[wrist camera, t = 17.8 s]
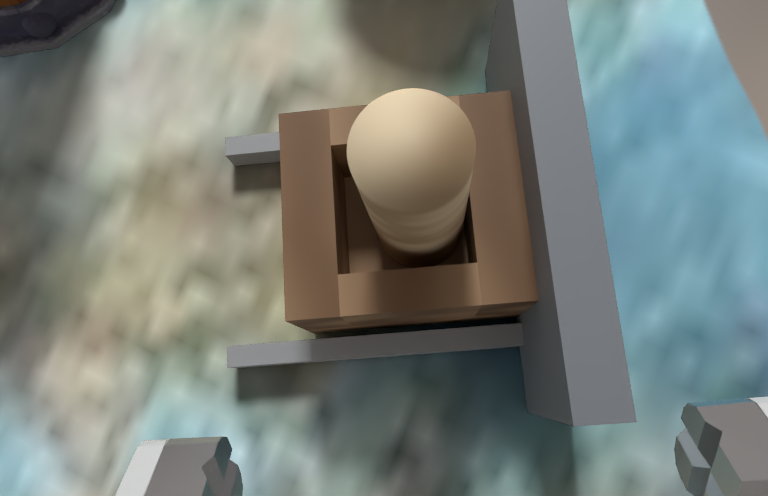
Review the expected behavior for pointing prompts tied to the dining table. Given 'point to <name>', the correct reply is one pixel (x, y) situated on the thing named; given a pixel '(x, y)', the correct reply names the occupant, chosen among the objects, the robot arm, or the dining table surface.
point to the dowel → (414, 172)
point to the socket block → (363, 247)
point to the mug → (45, 22)
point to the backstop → (547, 232)
